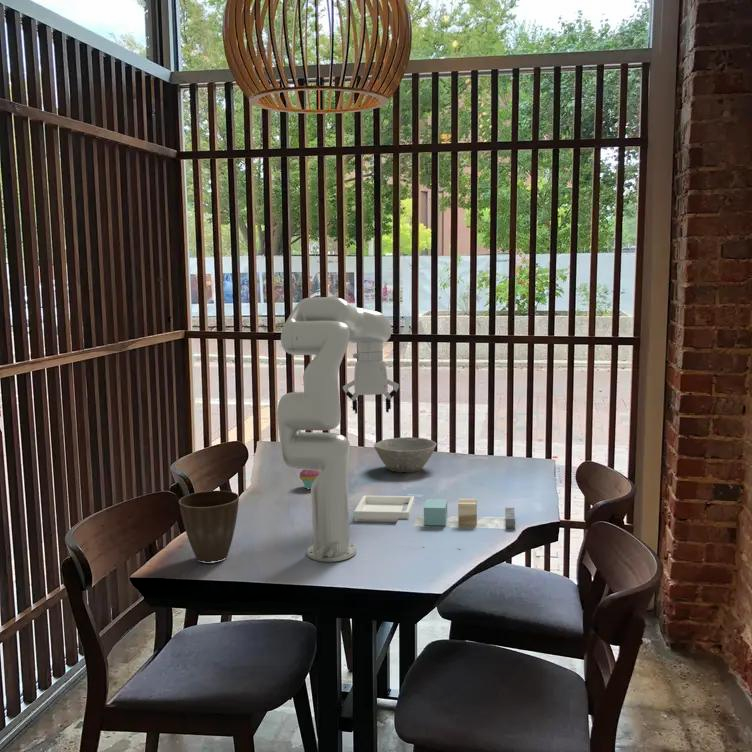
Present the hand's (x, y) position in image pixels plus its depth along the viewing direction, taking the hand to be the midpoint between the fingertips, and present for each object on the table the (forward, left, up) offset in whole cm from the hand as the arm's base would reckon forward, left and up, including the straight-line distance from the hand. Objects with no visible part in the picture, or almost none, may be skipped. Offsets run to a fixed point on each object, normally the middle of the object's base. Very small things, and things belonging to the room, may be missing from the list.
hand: (371, 412), depth 230 cm
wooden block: (-19, -30, -28) cm, 45 cm away
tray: (-9, -5, -29) cm, 31 cm away
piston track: (-19, -29, -29) cm, 45 cm away
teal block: (-19, -21, -28) cm, 39 cm away
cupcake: (+17, +24, -30) cm, 42 cm away
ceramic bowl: (+42, -5, -30) cm, 52 cm away
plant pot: (-49, +34, -30) cm, 66 cm away
